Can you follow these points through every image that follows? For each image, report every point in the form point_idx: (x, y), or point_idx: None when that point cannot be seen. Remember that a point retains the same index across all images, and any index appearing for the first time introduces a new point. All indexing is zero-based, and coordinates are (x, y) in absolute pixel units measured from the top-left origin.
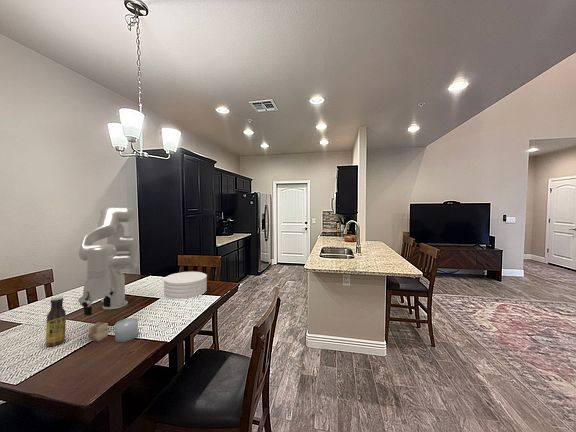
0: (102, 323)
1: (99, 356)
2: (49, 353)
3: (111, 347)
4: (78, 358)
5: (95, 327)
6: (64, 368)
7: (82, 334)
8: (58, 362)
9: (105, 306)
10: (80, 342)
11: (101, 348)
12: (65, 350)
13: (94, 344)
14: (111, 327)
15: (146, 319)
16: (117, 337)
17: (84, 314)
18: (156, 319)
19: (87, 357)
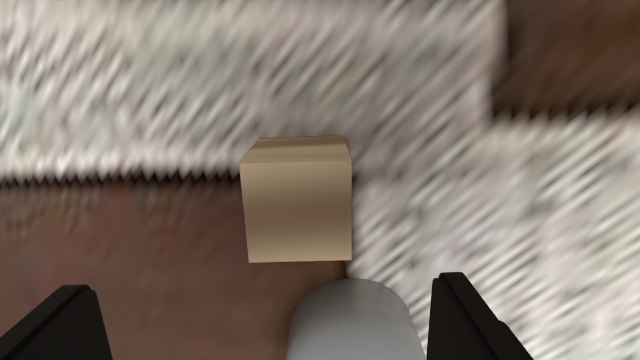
0: (336, 220)
1: (146, 346)
2: (47, 32)
3: (231, 337)
4: (91, 264)
5: (255, 227)
6: (7, 276)
7: (318, 3)
8: (20, 196)
9: (431, 311)
10: (220, 110)
11: (207, 297)
12: (114, 107)
13: (228, 224)
14: (456, 138)
15: (596, 287)
16: (287, 345)
17: (62, 292)
18: (594, 346)
19: (117, 299)
